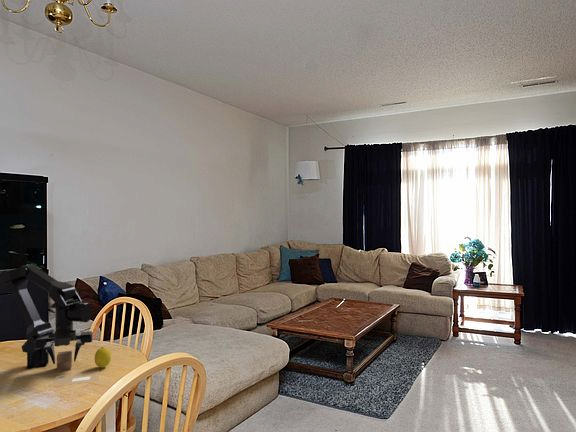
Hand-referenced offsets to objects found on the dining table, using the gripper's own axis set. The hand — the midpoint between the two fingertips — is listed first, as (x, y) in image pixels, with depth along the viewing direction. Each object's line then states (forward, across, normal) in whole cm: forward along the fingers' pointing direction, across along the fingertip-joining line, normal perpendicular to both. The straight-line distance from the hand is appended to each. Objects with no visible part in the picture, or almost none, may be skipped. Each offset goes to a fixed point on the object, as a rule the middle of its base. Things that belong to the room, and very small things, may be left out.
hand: (64, 362), depth 158 cm
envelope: (+2, +5, -12) cm, 13 cm away
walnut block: (+3, 0, 0) cm, 3 cm away
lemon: (+3, +13, -4) cm, 14 cm away
